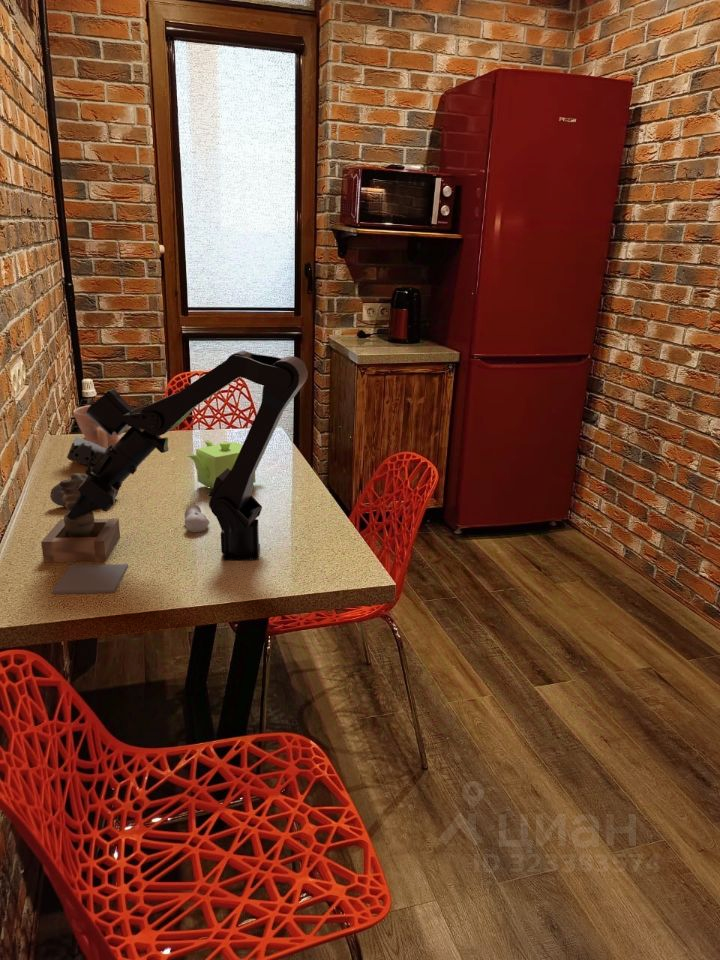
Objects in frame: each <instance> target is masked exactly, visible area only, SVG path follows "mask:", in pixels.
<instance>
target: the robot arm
mask: <svg viewBox="0 0 720 960" xmlns="http://www.w3.org/2000/svg"><path fill="white" fill-rule="evenodd" d="M308 375H309V371H308V369H307V365H306V364H305V362H304V361H303V360H301V358H299V357H297V356H294V355H289V356H285V357H283V358H281V357H277V356H272V355H265V354H264V355H263V354H257V353H252V352H249V351H247V350H240V351H237V352H234V353H233V354H231V355H229V356H228V357H227V359H226V360H224V361H222V362H221V363H220V364H218V365H217V366H216V367H214V368H213V369H211V370H209V371H207V373H205V374H204V375H202V376H201V377H200V378H197V380H195V381H193V382H192V383H190V384H188V385H187V386H186V387H185V388H183V389H181V390H180V391H178V392H176V393H173V394H171V395H168V396H166V397H163V398H161V399H158V400H157V401H155V402H153V403H150V404H149V405H145V406H143V405H142V406H140V407H137V408H133V406H131V404H129V403H128V402H127V401H126V400H125V399H124V398H123V397H122V396H121V393H119V391H118V390H116V389H115V388H112V389H109V390H107V392H105V394H103V395H102V396H100V397H99V398H98V399H96V401H95V402H93V403H91V404H90V405H91V406H90V407H89V408H88V410H87V412H86V414H87V415H88V416H89V417H90V418H91V419H92V420H94V421H95V422H96V423H97V424H98V425H99V426H100V427H101V428H102V429H103V430H104V431H105V432H106V433H107V434H108V435H111V436H112V435H113V434H114V433H116V434H117V435H119V436H120V435H122V434H123V433H124V434H123V435H122V436H120V437H121V438H120V439H119V441H118V442H117V443H116V444H113V445H112V444H111V445H110V446H109V447H108V448H107V449H106V448H104V447H102V446H100V445H98V444H95V443H92V442H90V441H87V440H84V439H83V438H81V437H78V436H77V437H75V438H74V440H72V441H73V442H72V443H71V446H70V449H69V451H68V453H67V457H66V458H67V459H68V460H69V461H71V462H77V463H80V464H83V465H86V466H87V468H86V470H85V474H86V475H88V476H87V477H86V478H85V479H84V480H83V481H82V482H80V485H79V488H78V491H79V492H80V496H79V498H78V499H77V501H76V502H75V504H74V505H73V507H72V509H71V510H70V512H69V511H68V515H67V517H68V518H70V519H75V518H77V517H80V516H82V515H85V514H87V513H90V512H96V511H98V510H102V511H103V512H108V511H109V510H110V508H112V507H113V505H114V504H115V501H116V497H117V496H116V497H115V491H114V490H113V489H112V488H113V487H114V488H115V489H116V490H118V489H119V488H120V489H121V487H122V484H123V482H124V481H125V480H126V479H127V478H128V477H130V475H134V474H135V473H136V472H137V469H138V467H139V466H140V465H141V464H142V463H143V462H144V461H145V460H146V459H147V458H148V457H149V456H150V454H151V453H153V451H154V450H155V449H156V450H158V451H159V453H162V454H163V453H167V452H169V444H168V442H169V437H167V436H165V437H161V436H163V435H165V434H167V433H169V432H170V431H172V430H173V429H175V428H177V427H178V426H179V425H180V424H182V422H183V421H184V420H185V419H187V418H188V416H189V415H190V414H191V413H192V412H193V411H194V410H195V408H196V407H198V405H200V404H201V403H203V402H206V400H207V399H209V398H210V397H212V396H213V395H215V394H217V393H218V392H220V391H221V390H223V389H224V388H225V387H227V386H229V385H230V384H231V383H233V382H235V381H237V380H238V379H239V378H243V379H245V380H248V381H250V382H253V383H254V384H257V385H261V386H263V387H262V393H261V404H260V406H259V409H258V411H257V413H256V415H255V417H254V419H253V422H252V424H251V426H250V428H249V431H248V433H247V435H246V437H245V438H244V442H243V444H242V445H243V446H242V448H241V450H240V452H239V455H238V457H237V459H236V461H235V463H234V466H233V468H232V470H229V469H228V468H227V469H226V470H224V471H223V472H222V473H221V474H220V475H219V476H218V477H216V480H215V483H214V487H213V489H211V491H210V493H208V494H207V497H209V502H208V507H209V510H210V511H211V513H212V514H213V515H214V517H215V518H216V519H217V522H218V524H219V526H220V529H221V531H220V549H221V550H220V551H221V553H222V554H223V556H222V557H223V561H231V560H233V561H234V560H237V561H238V560H239V561H240V560H244V561H245V560H258V559H259V557H260V549H261V544H260V542H259V541H260V539H259V538H260V537H259V536H260V535H259V519H257V518H258V517H260V515H261V512H262V509H263V505H261V504H260V503H259V502H258V501H257V500H256V499H255V498H254V496H252V492H253V489H254V488H253V487H254V483H253V481H254V474H255V475H256V471H257V469H258V467H259V464H260V462H261V460H262V458H263V456H264V454H265V452H266V449H267V448H268V445H269V443H270V441H271V439H272V438H273V437H272V436H273V435H274V432H275V430H276V428H277V426H278V424H279V422H280V419H281V417H282V415H283V413H284V411H285V409H286V408H287V407H288V406H289V404H290V403H291V402H292V400H293V399H294V398H295V397H296V396H297V394H298V392H300V390H301V388H302V387H303V386H304V384H305V383H306V382H307V379H308ZM127 429H128V430H127ZM126 430H127V431H126ZM125 431H126V432H125ZM120 489H119V490H120Z"/></svg>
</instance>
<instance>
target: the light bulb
mask: <svg viewBox="0 0 720 960" xmlns="http://www.w3.org/2000/svg"><path fill="white" fill-rule="evenodd" d="M87 476H88V475H86V473H78V472H77V473H71V474H70V478H68V479H69V480H68V479H62V480H61V481H60V482H59V483H60V486H61V487H62V489H61V493H62V494H64V496H63V498H62V499H63V501H65V502H66V505H65V506H64V507H65V508H66V509H67V510H68V513H69V512H70V510H71V509H72V507H73V505H74V504H75V502H76V501H77V499H78V498H79V496H80V492H79V491H78V488H79V485H80V482H82V481H83V480H84V479H85V478H86V477H87ZM68 513H65V514H64V515H63V519H64V523H65V529H66V531H67V532H68V533H69V534H70V535H71V536H72V538H77V537H89V534H90V533H91V531H92V530H93V528H94V519H95V515H94V511H92V512H90V513H87V514H85V515H82V516H80V517H77V518H75V519H70V518H68V517H67V515H68Z"/></svg>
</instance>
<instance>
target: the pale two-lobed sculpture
mask: <svg viewBox="0 0 720 960" xmlns="http://www.w3.org/2000/svg"><path fill="white" fill-rule="evenodd" d="M209 524H210V520H209V519H208V518H207V516H206V514H204V513H203V512H202V510H201V507H200V506H199V505H198V504H195V503H194V504H193V503H192V504H190V505H188V506H187V508H186V510H185V511H184V525H185V527H186V528H187V530H189V531H190V532H193V533H201V532H204V531H205V530H206V529H207V528H208V526H209Z"/></svg>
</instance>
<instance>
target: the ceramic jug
mask: <svg viewBox="0 0 720 960" xmlns="http://www.w3.org/2000/svg"><path fill="white" fill-rule="evenodd" d="M90 406H91V404H89V405H84V406H83V405H82V406H80V407H78V408H74V409H73V415H74V418H75V421H76V423H77V425H78V427H79V429H80V431H81V432H82V434H83V436H84V437H83V438H82V439H84V440H87V441H90V442H92V443H95V444H98V445H100V446H102V447H104V448H106V449H107V448H108V447H109V446H110V445H111V444H112V445H113V444H116V443H117V442H118V441H119V439H120V438H121V437H122V436H120V435H117V434H116V433H114V434H113V435H112V436H111V435H108V434H107V433H106V432H105V431H104V430H103V429H102V428H101V427H100V426H99V425H98V424H97V423H96V422H95V421H94V420H92V419H91V418H90V417H89V416H88V415H87V414H86V412H87V410H88V408H89V407H90Z"/></svg>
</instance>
